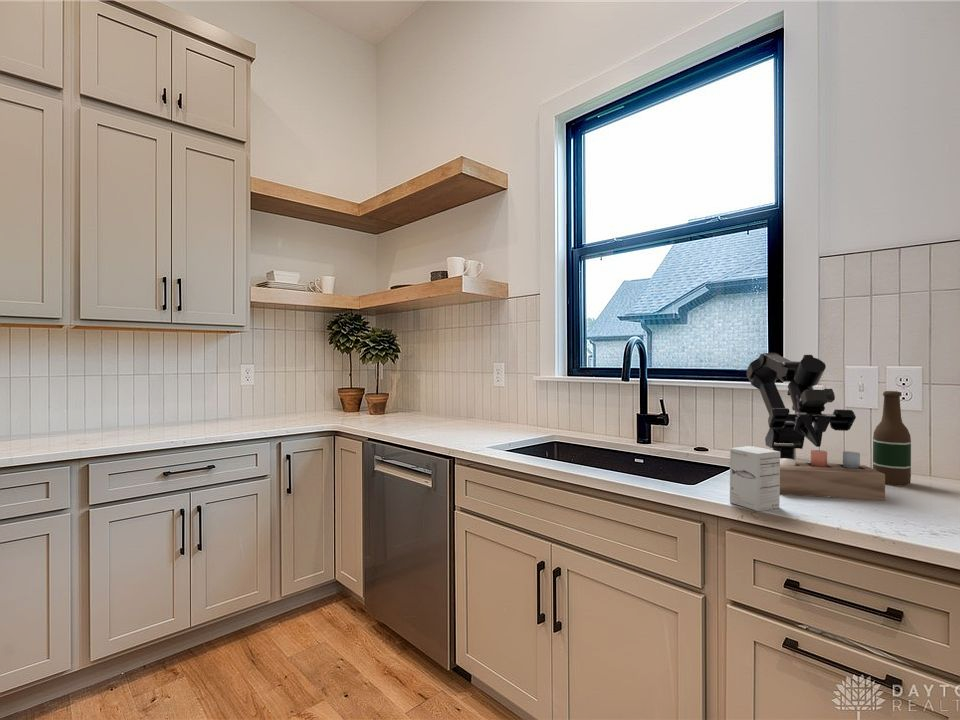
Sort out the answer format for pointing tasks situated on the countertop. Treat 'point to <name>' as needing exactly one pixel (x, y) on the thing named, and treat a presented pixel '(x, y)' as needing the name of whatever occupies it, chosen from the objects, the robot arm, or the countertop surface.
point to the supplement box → (755, 477)
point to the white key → (787, 462)
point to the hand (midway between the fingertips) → (818, 445)
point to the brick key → (818, 458)
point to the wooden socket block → (832, 481)
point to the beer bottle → (892, 443)
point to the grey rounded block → (851, 460)
